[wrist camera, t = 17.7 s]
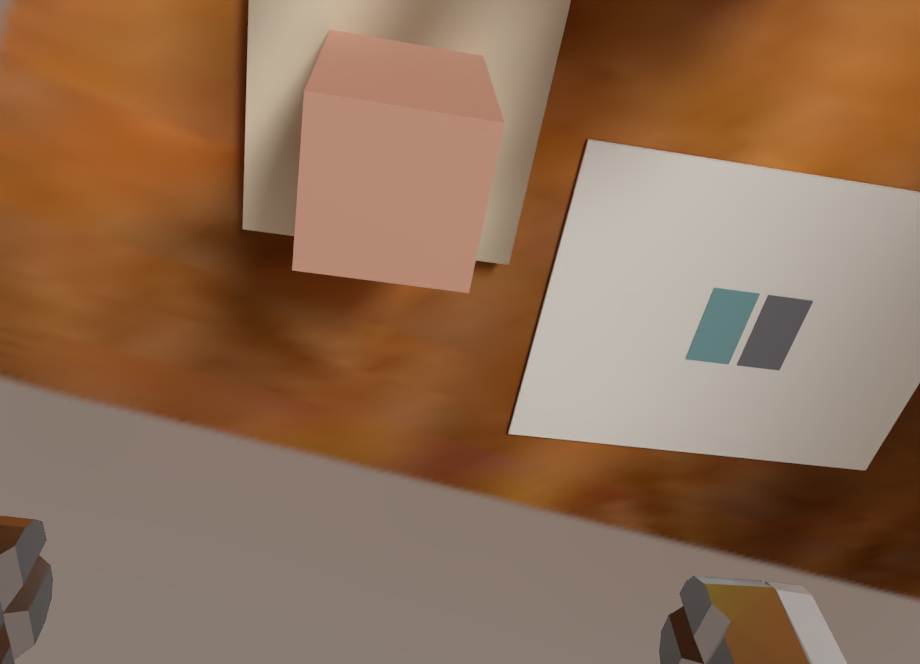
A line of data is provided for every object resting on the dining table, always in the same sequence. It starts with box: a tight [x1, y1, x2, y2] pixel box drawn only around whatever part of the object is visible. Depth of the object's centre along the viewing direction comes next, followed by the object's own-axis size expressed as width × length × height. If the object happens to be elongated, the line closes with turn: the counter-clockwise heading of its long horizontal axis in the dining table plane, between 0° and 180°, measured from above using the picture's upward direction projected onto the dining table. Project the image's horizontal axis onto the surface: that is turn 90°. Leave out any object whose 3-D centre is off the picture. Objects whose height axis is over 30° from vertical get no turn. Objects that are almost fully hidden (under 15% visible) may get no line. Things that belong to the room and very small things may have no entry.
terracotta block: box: [292, 30, 505, 293], centre depth 23 cm, size 5×5×7 cm
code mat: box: [508, 139, 920, 471], centre depth 33 cm, size 18×14×1 cm
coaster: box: [243, 0, 571, 265], centre depth 27 cm, size 10×10×1 cm
